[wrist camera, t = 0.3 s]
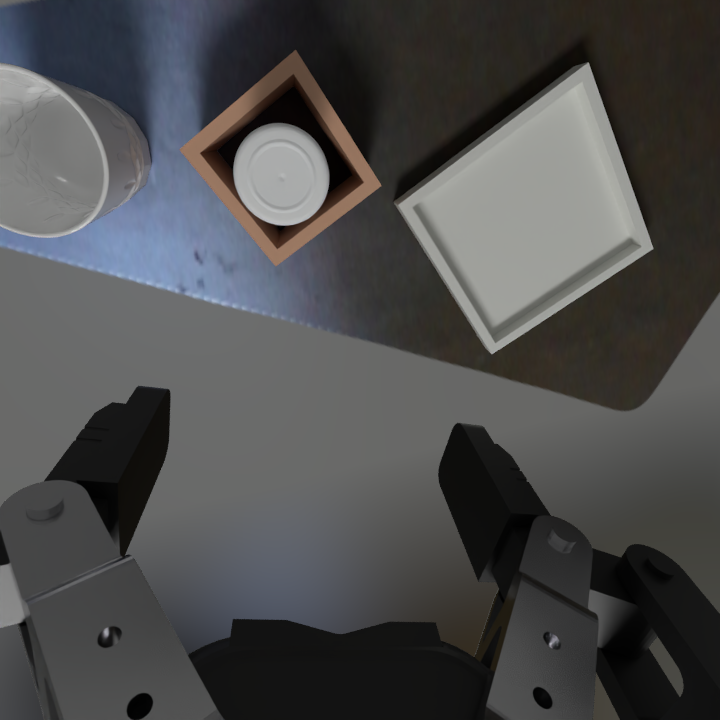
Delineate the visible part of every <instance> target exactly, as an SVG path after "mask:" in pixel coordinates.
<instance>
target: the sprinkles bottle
mask: <svg viewBox="0 0 720 720" xmlns="http://www.w3.org/2000/svg"><path fill="white" fill-rule="evenodd" d="M233 175H234V182H235V186H236V189H237V192H238V194H239V196H240V198H241V200H242V202H243V203H244V204H245V206H246V207H247V208H248V209H249V210H250V211H251V212H252V213H253V214H254V215H255V216H257V217H258V218H260V219H262V220H264V221H266V222H268V223H271V224H275V225H294V224H298V223H301V222H303V221H305V220H307V219H309V218H310V217H311V216H313V215H314V214H315V213H316V212H317V211H318V210H319V208H320V207H321V205H322V204H323V202H324V200H325V198H326V195H327V192H328V188H329V168H328V164H327V160H326V158H325V155H324V153H323V151H322V149H321V148H320V146H319V145H318V143H317V142H316V141H315V140H314V139H313V138H312V137H311V136H310V135H309V134H308V133H307V132H305V131H304V130H302V129H300V128H298V127H296V126H293V125H290V124H286V123H271V124H267V125H264V126H261V127H259V128H257V129H255V130H254V131H252V132H251V133H250V134H249V135H248V136H247V137H246V138H245V139H244V140H243V142H242V143H241V145H240V146H239V148H238V150H237V153H236V156H235V160H234V166H233Z"/></svg>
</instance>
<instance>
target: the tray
mask: <svg viewBox="0 0 720 720" xmlns="http://www.w3.org/2000/svg"><path fill="white" fill-rule="evenodd" d="M394 204H395V205H396V207H397V209H398V210H399V212H400V213H401V215H402V216H403V218H404V220H405V221H406V223H407V224H408V226H409V228H410V229H411V231H412V232H413V234H414V236H415V237H416V239H417V240H418V242H419V244H420V245H421V247H422V248H423V250H424V251H425V253H426V255H427V256H428V258H429V259H430V261H431V263H432V264H433V266H434V267H435V269H436V271H437V272H438V274H439V275H440V277H441V278H442V280H443V282H444V283H445V285H446V286H447V288H448V290H449V291H450V293H451V294H452V296H453V298H454V299H455V301H456V302H457V304H458V305H459V307H460V309H461V310H462V312H463V313H464V315H465V317H466V318H467V320H468V321H469V323H470V325H471V326H472V328H473V329H474V331H475V332H476V334H477V336H478V337H479V339H480V340H481V342H482V344H483V345H484V347H485V348H486V349H487V350H488V351H489V352H490V353H491V354H493V353H495V352H496V351H498V350H499V349H501V348H502V347H504V346H505V345H507V344H508V343H510V342H511V341H513V340H515V339H516V338H518V337H519V336H521V335H522V334H524V333H525V332H527V331H528V330H530V329H531V328H533V327H534V326H536V325H537V324H539V323H540V322H542V321H544V320H545V319H547V318H548V317H550V316H551V315H553V314H554V313H556V312H557V311H559V310H560V309H562V308H563V307H565V306H566V305H568V304H570V303H571V302H573V301H574V300H576V299H577V298H579V297H580V296H582V295H583V294H585V293H586V292H588V291H589V290H591V289H592V288H594V287H595V286H597V285H599V284H600V283H602V282H603V281H605V280H606V279H608V278H609V277H611V276H612V275H614V274H615V273H617V272H618V271H620V270H621V269H623V268H625V267H626V266H628V265H629V264H631V263H632V262H634V261H635V260H637V259H638V258H640V257H641V256H643V255H644V254H646V253H647V252H649V251H650V250H652V249H653V246H652V243H651V240H650V238H649V235H648V232H647V229H646V226H645V223H644V220H643V217H642V215H641V212H640V209H639V206H638V203H637V200H636V197H635V194H634V192H633V189H632V186H631V183H630V180H629V177H628V174H627V171H626V169H625V166H624V163H623V160H622V157H621V154H620V151H619V148H618V146H617V143H616V140H615V137H614V134H613V131H612V128H611V125H610V123H609V120H608V117H607V114H606V111H605V108H604V105H603V103H602V100H601V97H600V94H599V91H598V88H597V85H596V82H595V80H594V77H593V74H592V71H591V68H590V65H589V62H588V63H584V64H580V65H576V66H574V67H572V68H571V69H570V70H568V71H567V72H566V73H564V74H563V75H562V76H560V77H559V78H558V79H556V80H555V81H554V82H552V83H551V84H550V85H548V86H547V87H546V88H544V89H543V90H542V91H540V92H539V93H538V94H536V95H535V96H534V97H532V98H531V99H530V100H528V101H527V102H526V103H524V104H523V105H522V106H520V107H519V108H518V109H516V110H515V111H514V112H512V113H511V114H510V115H508V116H507V117H506V118H504V119H503V120H502V121H500V122H499V123H498V124H496V125H495V126H494V127H492V128H491V129H490V130H488V131H487V132H486V133H484V134H483V135H482V136H480V137H479V138H478V139H476V140H475V141H474V142H472V143H471V144H470V145H468V146H467V147H466V148H464V149H463V150H462V151H460V152H459V153H458V154H456V155H455V156H454V157H453V158H451V159H450V160H449V161H447V162H446V163H445V164H443V165H442V166H441V167H439V168H438V169H437V170H435V171H434V172H433V173H431V174H430V175H429V176H427V177H426V178H425V179H423V180H422V181H421V182H419V183H418V184H417V185H415V186H414V187H413V188H411V189H410V190H409V191H407V192H406V193H405V194H403V195H402V196H401V197H399V198H398V199H397V200H395V201H394Z"/></svg>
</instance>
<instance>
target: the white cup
mask: <svg viewBox="0 0 720 720" xmlns="http://www.w3.org/2000/svg"><path fill="white" fill-rule="evenodd" d="M150 168H151V158H150V152H149V147H148V141H147V139H146V137H145V136H144V134H143V133H142V131H141V129H140V128H139V126H138V125H137V123H136V121H135V120H134V118H133V117H131V116H130V115H129V114H127V113H126V112H125V111H124V110H122V109H121V108H120V107H118V106H117V105H116V104H114V103H113V102H112V101H109V100H106V99H103V98H100V97H99V96H97V95H95V94H93V93H91V92H88V91H86V90H83V89H81V88H79V87H76V86H74V85H71V84H68V83H65V82H62V81H59V80H57V79H54V78H51V77H48V76H45V75H42V74H39V73H36V72H34V71H31V70H28V69H25V68H22V67H19V66H15V65H11V64H5V63H0V226H1V227H3V228H5V229H7V230H10V231H13V232H16V233H19V234H23V235H27V236H32V237H43V238H49V237H59V236H64V235H68V234H71V233H73V232H76V231H78V230H80V229H81V228H83V227H85V226H87V225H88V224H90V223H92V222H94V221H95V220H97V219H99V218H101V217H103V216H105V215H107V214H108V213H110V212H112V211H113V210H114V209H116V208H118V207H119V206H121V205H122V204H124V203H125V202H127V201H128V200H129V199H131V198H132V197H133V196H134V195H135V194H136V193H137V192H138V191H140V190H141V189H142V188H143V187H144V186H145V185H146V182H147V178H148V175H149V171H150Z"/></svg>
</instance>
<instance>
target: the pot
mask: <svg viewBox="0 0 720 720" xmlns="http://www.w3.org/2000/svg"><path fill="white" fill-rule="evenodd" d="M293 86H294V87H295V88H296V90H297V91H298V93H299V94H300V96H301V97H302V99H303V100H304V102H305V103H306V105H307V106H308V108H309V110H310V111H311V113H312V114H313V116H314V117H315V119H316V120H317V122H318V123H319V125H320V126H321V128H322V129H323V131H324V132H325V134H326V135H327V137H328V139H329V140H330V142H331V143H332V145H333V146H334V148H335V149H336V151H337V152H338V154H339V155H340V157H341V158H342V160H343V161H344V163H345V164H346V166H347V167H348V169H349V171H350V172H351V174H352V176H350V177H349V178H348V179H346V180H345V181H344V182H343V183H341V184H340V185H339V186H337V187H336V188H335V189H334V190H332V191H331V192H330V193H328V194H327V195H326V198H325V200H324V202H323V204H322V205H321V207H320V208H319V210H318V211H317V212H316V213H315V214H314V215H313V216H311V217H310V218H309V219H307V220H305V221H303V222H301V223H298V224H294V225H287V226H286V227H285V228H284V229H282V230H281V231H280V230H279V229H278V227H277V226H276V225H275V224H271V223H268V222H266V221H264V220H262V219H260V218H258V217H257V216H255V215H254V214H253V213H252V212H251V211H250V210H249V209H248V208H247V207H246V206H245V204H244V203H243V202H242V200H241V198H240V196H239V194H238V192H237V189H236V186H235V182H234V175H233V170H232V169H231V168H230V166H229V165H228V164H227V162H226V161H225V160H224V159H223V157H222V156H221V155H220V154H219V152H218V151H217V150H218V149H219V148H221V147H222V146H223V145H224V144H225V143H227V142H228V141H229V140H230V139H231V138H232V137H234V136H235V135H236V134H237V133H238V132H240V131H241V130H242V129H243V128H244V127H246V126H247V125H248V124H249V123H250V122H252V121H253V120H254V119H255V118H256V117H257V116H259V115H260V114H261V113H262V112H263V111H265V110H266V109H267V108H268V107H269V106H271V105H272V104H273V103H274V102H275V101H276V100H278V99H279V98H280V97H281V96H282V95H284V94H285V93H286V92H287V91H288V90H290V89H291V88H292V87H293ZM179 150H180V151H181V152H182V153H183V155H184V156H185V157H186V158H187V160H188V161H189V162H190V163H191V164H192V166H193V167H194V168H195V169H196V170H197V172H198V173H199V174H200V175H201V176H202V178H203V179H204V180H205V181H206V183H207V184H208V185H209V186H210V187H211V189H212V190H213V191H214V192H215V193H216V195H217V196H218V197H219V198H220V199H221V201H222V202H223V203H224V204H225V206H226V207H227V208H228V209H229V210H230V212H231V213H232V214H233V215H234V216H235V218H236V219H237V220H238V221H239V222H240V224H241V225H242V226H243V227H244V228H245V230H246V231H247V232H248V233H249V235H250V236H251V237H252V238H253V239H254V241H255V242H256V243H257V244H258V245H259V247H260V248H261V249H262V250H263V251H264V253H265V254H266V255H267V256H268V258H269V259H270V260H271V261H272V262H273V264H274V265H275V266H277V265H278V264H280V263H281V262H282V261H283V260H285V259H286V258H287V257H289V256H290V255H291V254H293V253H294V252H295V251H297V250H298V249H299V248H301V247H302V246H303V245H304V244H306V243H307V242H308V241H310V240H311V239H312V238H314V237H315V236H316V235H318V234H319V233H320V232H321V231H323V230H324V229H325V228H327V227H328V226H329V225H331V224H332V223H333V222H335V221H336V220H337V219H339V218H340V217H341V216H342V215H344V214H345V213H346V212H348V211H349V210H350V209H352V208H353V207H354V206H356V205H357V204H358V203H359V202H361V201H362V200H363V199H365V198H366V197H367V196H369V195H370V194H371V193H373V192H374V191H375V190H377V189H378V188H379V187H380V186H381V184H380V182H379V181H378V179H377V178H376V176H375V174H374V173H373V171H372V170H371V168H370V167H369V165H368V163H367V162H366V160H365V159H364V157H363V155H362V154H361V152H360V151H359V149H358V147H357V146H356V144H355V143H354V141H353V140H352V138H351V136H350V135H349V133H348V132H347V130H346V128H345V127H344V125H343V124H342V122H341V121H340V119H339V117H338V116H337V114H336V113H335V111H334V109H333V108H332V106H331V105H330V103H329V102H328V100H327V98H326V97H325V95H324V94H323V92H322V90H321V89H320V87H319V86H318V84H317V83H316V81H315V79H314V78H313V76H312V75H311V73H310V71H309V70H308V68H307V67H306V65H305V64H304V62H303V60H302V59H301V57H300V56H299V54H298V52H297V51H296V50H295V51H294V52H292V53H291V54H290V55H289V56H288V57H287V58H285V59H284V60H283V61H282V62H281V63H280V64H278V65H277V66H276V67H275V68H274V69H273V70H271V71H270V72H269V73H268V74H267V75H266V76H265V77H263V78H262V79H261V80H260V81H259V82H258V83H256V84H255V85H254V86H253V87H252V88H251V89H249V90H248V91H247V92H246V93H245V94H244V95H242V96H241V97H240V98H239V99H238V100H237V101H235V102H234V103H233V104H232V105H231V106H230V107H228V108H227V109H226V110H225V111H224V112H223V113H221V114H220V115H219V116H218V117H217V118H216V119H214V120H213V121H212V122H211V123H210V124H209V125H207V126H206V127H205V128H204V129H203V130H202V131H200V132H199V133H198V134H197V135H196V136H195V137H193V138H192V139H191V140H190V141H189V142H188V143H186V144H185V145H184V146H183V147H182V148H181V149H179Z"/></svg>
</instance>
